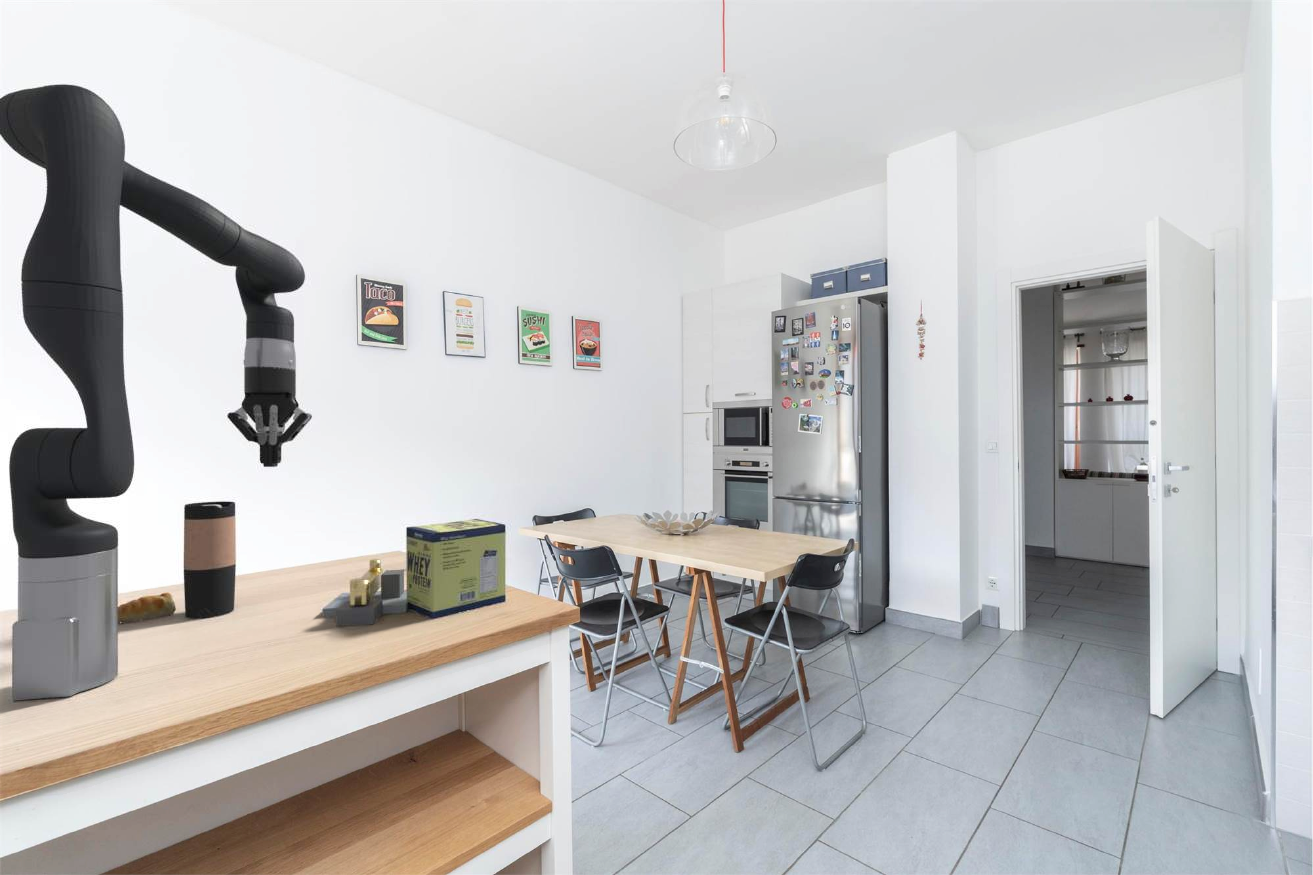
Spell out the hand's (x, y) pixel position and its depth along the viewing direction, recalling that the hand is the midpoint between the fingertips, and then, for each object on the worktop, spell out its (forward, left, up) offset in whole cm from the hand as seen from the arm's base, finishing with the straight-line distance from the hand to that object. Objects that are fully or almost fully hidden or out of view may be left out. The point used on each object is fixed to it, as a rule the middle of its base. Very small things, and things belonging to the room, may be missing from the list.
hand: (270, 466), depth 103 cm
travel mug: (+8, +13, -27) cm, 31 cm away
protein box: (+4, -30, -27) cm, 41 cm away
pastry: (+8, +23, -28) cm, 37 cm away
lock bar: (+4, -15, -24) cm, 28 cm away
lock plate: (+3, -15, -27) cm, 31 cm away
